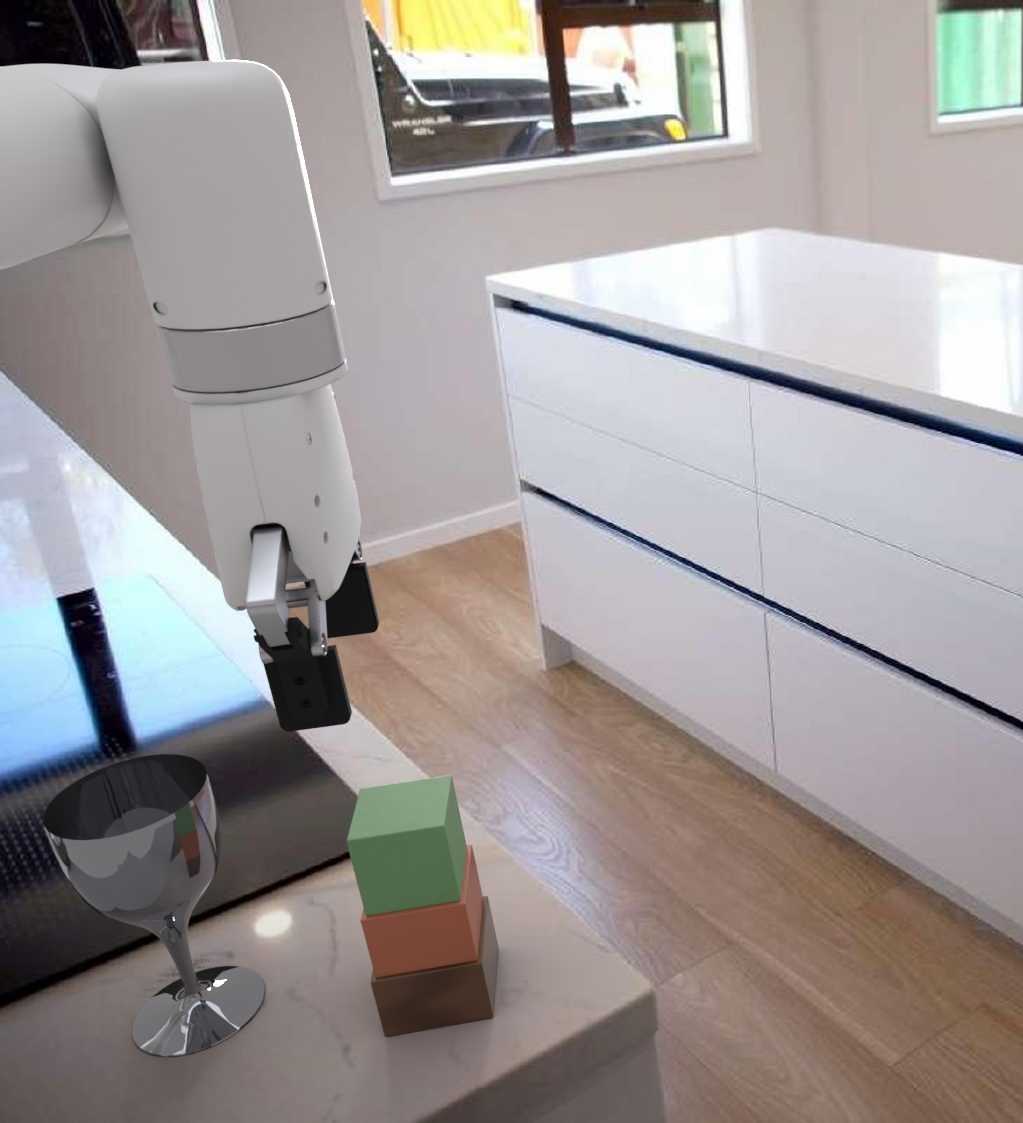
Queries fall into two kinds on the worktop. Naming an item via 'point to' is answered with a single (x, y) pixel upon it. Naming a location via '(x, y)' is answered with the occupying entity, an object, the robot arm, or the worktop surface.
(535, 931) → the worktop surface
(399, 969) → the terracotta block
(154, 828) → the wine glass
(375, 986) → the walnut block
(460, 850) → the green block
